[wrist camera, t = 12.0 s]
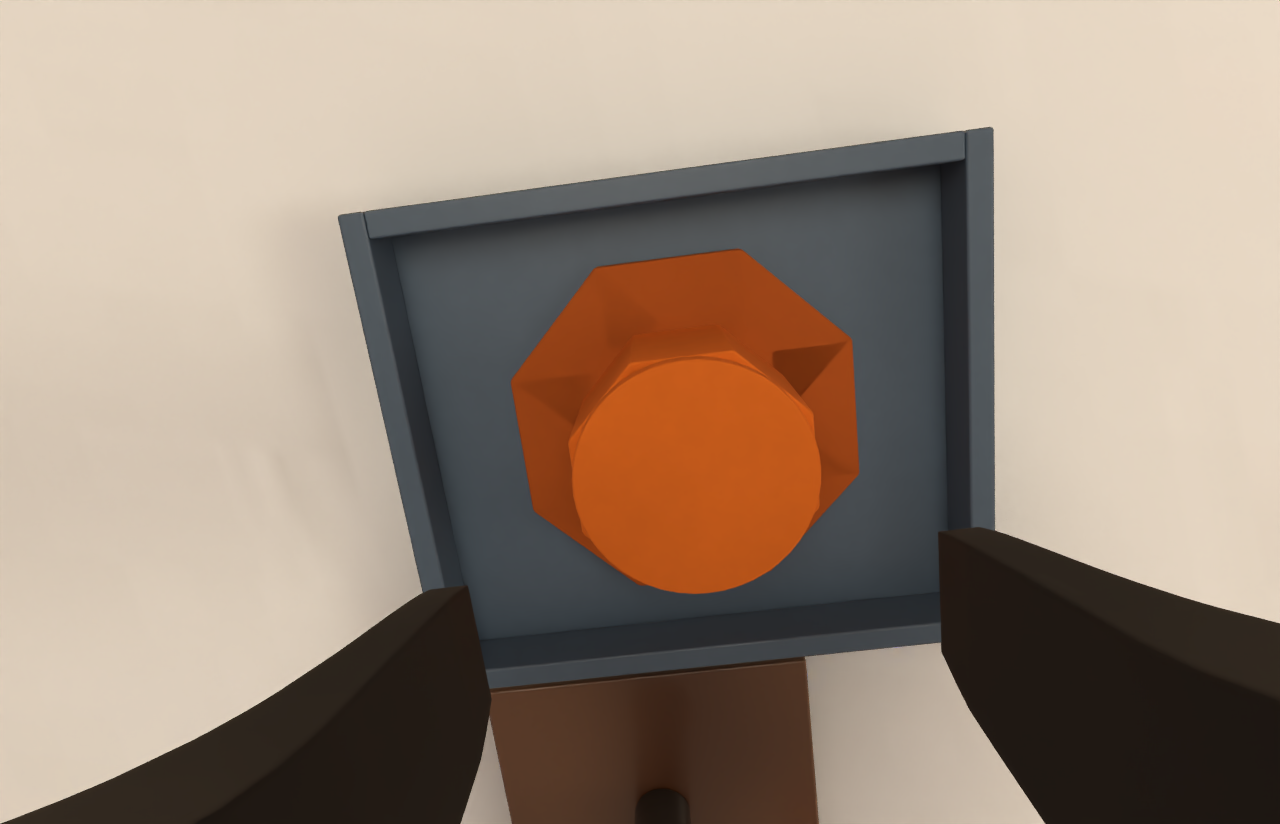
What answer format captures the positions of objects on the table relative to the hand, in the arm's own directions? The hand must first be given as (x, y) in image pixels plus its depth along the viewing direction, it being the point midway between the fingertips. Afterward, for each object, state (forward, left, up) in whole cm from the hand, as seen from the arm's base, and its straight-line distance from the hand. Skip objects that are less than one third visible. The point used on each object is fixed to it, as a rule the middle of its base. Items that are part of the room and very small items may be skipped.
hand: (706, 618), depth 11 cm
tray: (0, +1, -9) cm, 9 cm away
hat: (0, +1, -8) cm, 8 cm away
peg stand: (-2, -11, -9) cm, 14 cm away
